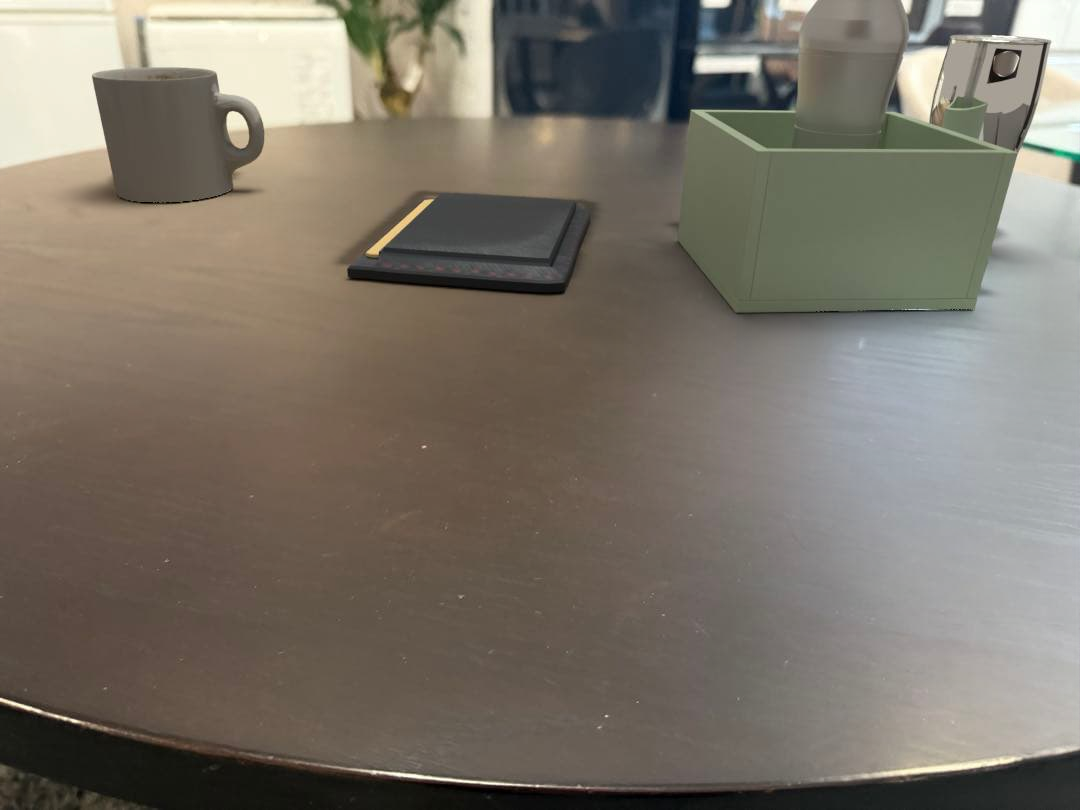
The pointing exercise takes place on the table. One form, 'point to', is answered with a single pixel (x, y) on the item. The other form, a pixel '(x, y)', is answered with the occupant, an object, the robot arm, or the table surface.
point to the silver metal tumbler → (990, 87)
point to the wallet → (480, 244)
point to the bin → (840, 214)
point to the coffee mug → (172, 133)
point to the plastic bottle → (847, 72)
